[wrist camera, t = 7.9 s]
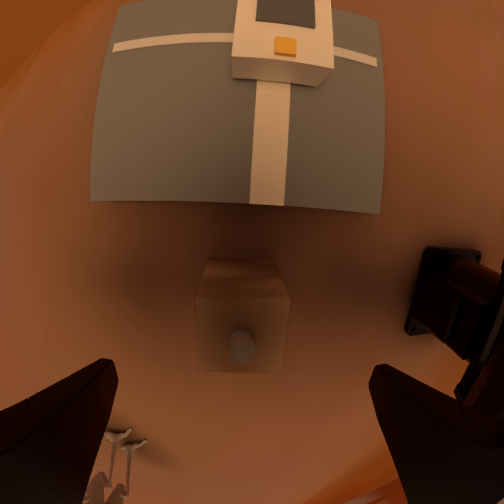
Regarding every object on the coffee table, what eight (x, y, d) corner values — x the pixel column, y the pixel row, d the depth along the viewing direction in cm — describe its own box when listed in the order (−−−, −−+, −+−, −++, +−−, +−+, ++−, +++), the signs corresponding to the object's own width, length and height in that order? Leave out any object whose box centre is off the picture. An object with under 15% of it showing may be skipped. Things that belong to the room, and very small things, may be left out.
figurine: (71, 404, 18) (11, 525, 3) (92, 393, 17) (27, 537, 3) (155, 468, 20) (136, 580, 6) (182, 462, 20) (170, 588, 5)
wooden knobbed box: (273, 261, 15) (296, 311, 9) (268, 319, 16) (284, 386, 10) (207, 258, 15) (191, 308, 9) (207, 317, 16) (196, 385, 10)
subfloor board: (367, 30, 11) (379, 19, 10) (367, 210, 15) (381, 215, 13) (127, 16, 10) (118, 4, 9) (102, 199, 13) (88, 202, 12)
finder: (315, 11, 10) (330, -16, 7) (317, 86, 11) (336, 66, 8) (239, 2, 9) (241, -29, 7) (232, 77, 11) (231, 53, 8)
